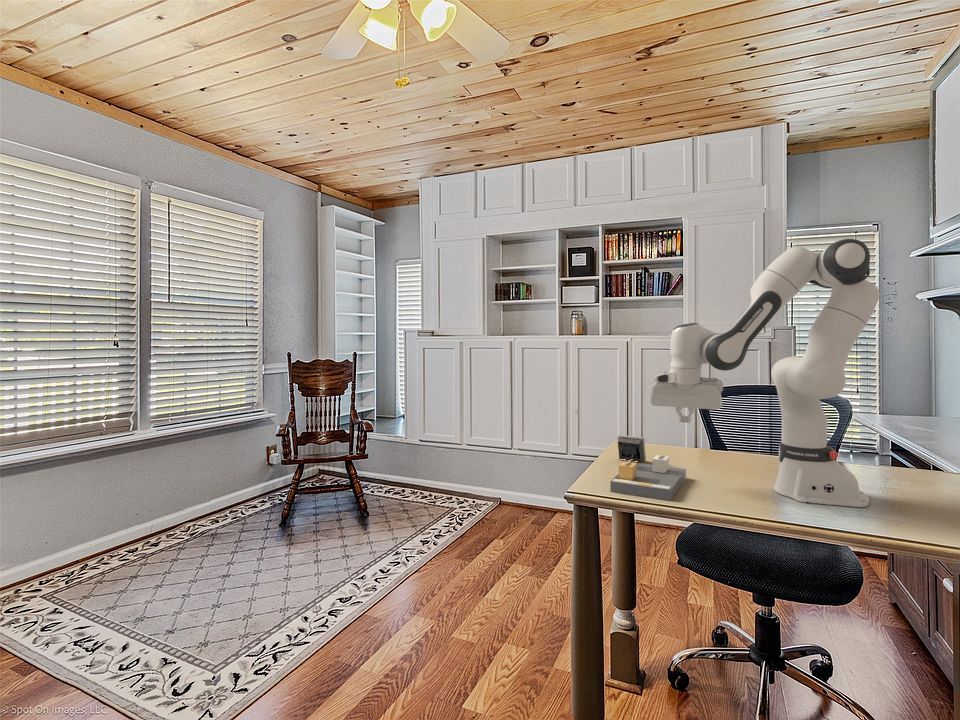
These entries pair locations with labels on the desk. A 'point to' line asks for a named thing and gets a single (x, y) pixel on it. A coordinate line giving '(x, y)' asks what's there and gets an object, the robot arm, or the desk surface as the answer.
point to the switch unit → (650, 483)
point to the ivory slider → (660, 464)
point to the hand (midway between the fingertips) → (685, 422)
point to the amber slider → (627, 470)
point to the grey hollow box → (631, 448)
